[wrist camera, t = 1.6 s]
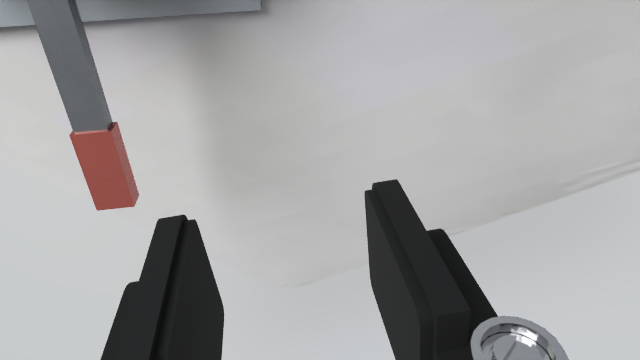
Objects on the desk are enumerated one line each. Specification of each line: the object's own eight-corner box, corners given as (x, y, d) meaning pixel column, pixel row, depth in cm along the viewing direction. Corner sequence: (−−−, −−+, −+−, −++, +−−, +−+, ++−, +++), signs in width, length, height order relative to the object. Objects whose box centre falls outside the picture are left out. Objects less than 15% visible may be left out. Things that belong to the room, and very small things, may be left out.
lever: (-14, -114, 19) (-31, -117, 18) (53, -117, 20) (40, -119, 18) (98, 198, 28) (91, 211, 27) (144, 194, 28) (139, 206, 27)
